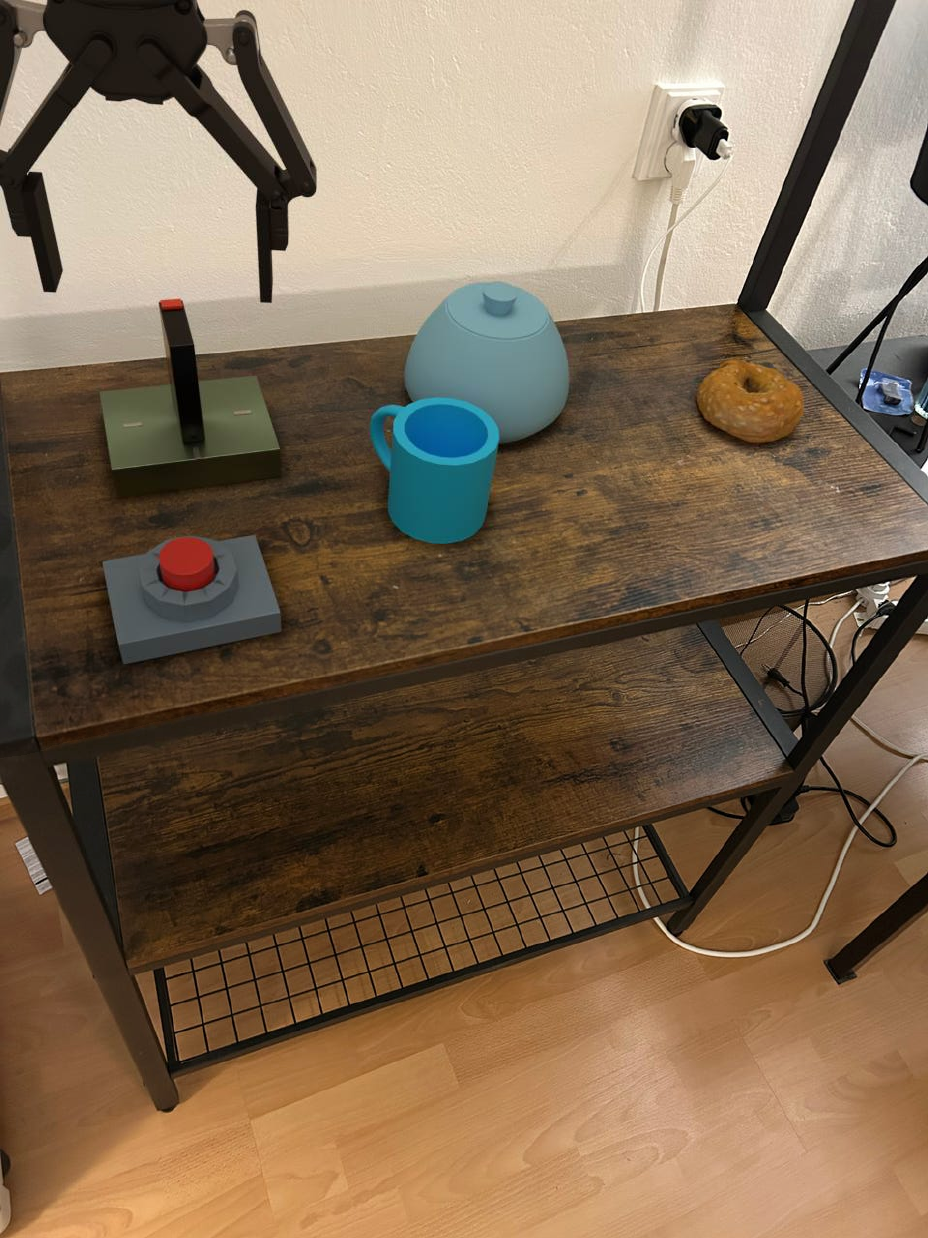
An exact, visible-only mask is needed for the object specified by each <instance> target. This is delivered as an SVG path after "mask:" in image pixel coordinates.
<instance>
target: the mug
mask: <svg viewBox="0 0 928 1238" xmlns="http://www.w3.org/2000/svg"><path fill="white" fill-rule="evenodd" d="M388 417H395V418H394V420H393V424H392V425H393V426H392V439H391V440H392V441H391V449H390V447H389V445H388V442H387V440H386V437H385V433H384V423H385V420H386V419H387V418H388ZM369 436H370V440H371V442H372V446H373V448H374V451H375V453H376V455H377V456H378V458H379V460H380V461H381V464H382V465H383V466H384V467H385V469H386V470H387V471H388V472H389V481H388V482H389V483H388V496H387V513H388V515H389V517H390V520H391V521H392V522H391V523H393V524H394V525H395V526H396V528H397V529H399V531H401V533H403V534H405V535H407V536H409V537H411V538H412V539H415V540H418V541H422V542H424V543H429V544H443V545H448V544H452V543H458V542H462V541H464V540H466V539H468V538H470V537H473V536H474V535H475V534H477V532H478V531H479V530H480V529H481V528H482V527H483V525H484V522H485V520H486V517H487V511H488V506H489V499H490V494H491V488H492V483H493V479H494V472H495V466H496V460H497V455H498V449H499V444H498V443H499V431H498V427H497V425H496V424H495V422H494V420H493V419H492V417H490V416H489V415H488V414H487V413H486V412H485V411H483V410H482V409H481V408H479V407H477V406H475V405H473V404H471V403H469V402H465V401H461V400H457V399H453V398H439V397H436V398H428V399H421V400H419V401H416V402H414V403H413V402H411V403H408V404H407V405H406V406H402V405H398V404H388V405H384V406H381V407H379V408H378V409H377V410H376V411H375V412H374V413H373V414H372V415H371V419H370V423H369Z"/></svg>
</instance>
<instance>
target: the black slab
mask: <svg viewBox="0 0 928 1238" xmlns="http://www.w3.org/2000/svg"><path fill="white" fill-rule="evenodd" d="M158 308H159V315H160V317H159V318H160V322H161V331H162V337H163V345H164V351H165V358H166V365H167V371H168V379H169V384H170V387H171V394H172V400H173V404H174V409H175V413H176V417H177V422H178V426H179V430H180V435H181V439H182V443H189V442H197V441H205V433H204V424H203V416H202V407H201V398H200V390H199V381H200V380H199V373H198V365H197V357H196V348H195V342H194V339H193V334H192V331H191V327H190V323H189V320H188V316H187V311H186V308H185V305H184V300H182V299H181V298H167V299H160V301H158Z"/></svg>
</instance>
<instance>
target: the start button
mask: <svg viewBox="0 0 928 1238" xmlns="http://www.w3.org/2000/svg"><path fill="white" fill-rule="evenodd" d="M182 537H183V538H179V537H177V538H178V539H175V540H172V541H170V542H169V543H167V544H166V545H165V546H164V547H163V548H162V549H161V551H160V553H159V563H160V568H161V574H162V578H163V581H164V582H165V583H166V584H167V585H168V586H169V587H170V588H172V589H175V590H178V591H184V592H188V591H194V590H199V589H201V588H203V587H205V586H207V585H208V584H209V583H210V582H211V581H212V579H213V577H214V575H215V566H214V558H213V551H212V549H211V547H210V546H209V545H208V544H207V543H206V542H204V541H203V540H200V539H198V538H192V537H185V536H182Z"/></svg>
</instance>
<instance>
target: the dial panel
mask: <svg viewBox="0 0 928 1238" xmlns="http://www.w3.org/2000/svg"><path fill="white" fill-rule="evenodd" d="M198 381H199V390H200V398H201V407H202V416H203V424H204V433H205V441H197V442H189V443H182V439H181V435H180V430H179V426H178V422H177V417H176V413H175V409H174V404H173V400H172V394H171V387H170V383H169V384H160V385H150V386H140V387H139V386H138V387H131V388H121V389H111V390H102V391H101V390H100V391H99V392H98V393H99V398H100V399H99V400H100V405H101V411H102V416H103V423H104V430H105V436H106V443H107V449H108V453H109V454H108V455H109V462H110V468H111V472H112V477H113V483H114V487H115V492H116V496H117V498H118V499H123V498H130V497H131V498H132V497H135V496H136V497H138V496H146V495H152V494H153V495H154V494H160V493H168V492H169V493H170V492H175V491H176V492H177V491H183V490H190V489H198V488H205V487H212V486H220V485H228V484H236V483H244V482H251V481H258V480H265V479H275V478H280V477H282V464H281V463H282V460H281V459H282V458H281V447H280V443H279V441H278V438H277V435H276V432H275V429H274V426H273V425H274V424H273V423H272V420H271V416H270V413H269V411H268V406H267V403H266V402H265V401H266V400H265V398H264V395H263V391H262V388H261V386H260V382H259V379H258V376H257V375H248V376H239V377H238V376H237V377H229V378H227V377H226V378H218V379H208V380H198Z"/></svg>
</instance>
